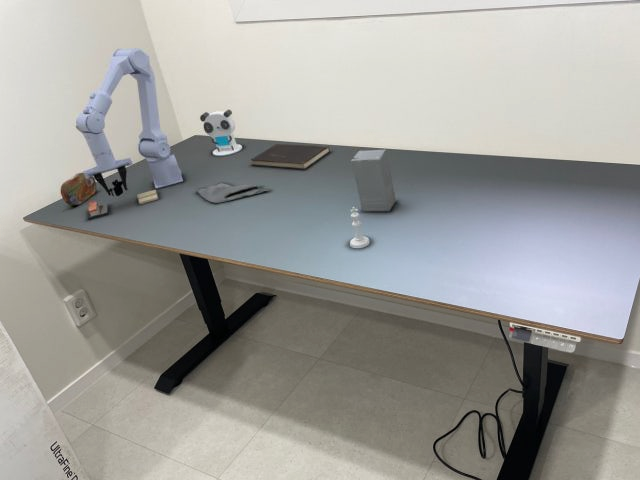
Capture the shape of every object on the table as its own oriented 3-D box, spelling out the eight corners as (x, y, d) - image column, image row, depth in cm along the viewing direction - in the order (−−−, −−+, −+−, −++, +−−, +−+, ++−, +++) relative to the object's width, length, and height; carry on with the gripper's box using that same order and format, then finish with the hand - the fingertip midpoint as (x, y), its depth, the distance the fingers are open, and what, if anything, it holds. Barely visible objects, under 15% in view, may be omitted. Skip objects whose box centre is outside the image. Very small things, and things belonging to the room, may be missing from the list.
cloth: (184, 199, 183) (181, 193, 182) (213, 182, 192) (211, 176, 191) (244, 207, 170) (242, 201, 169) (272, 188, 180) (271, 182, 179)
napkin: (156, 193, 191) (155, 189, 191) (158, 199, 186) (157, 195, 186) (138, 198, 190) (137, 194, 189) (139, 204, 185) (138, 200, 184)
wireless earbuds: (124, 190, 188) (118, 176, 185) (130, 190, 187) (125, 175, 185) (111, 199, 182) (105, 185, 180) (118, 199, 182) (112, 184, 179)
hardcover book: (304, 169, 190) (303, 163, 189) (252, 165, 201) (250, 159, 200) (330, 152, 201) (328, 145, 200) (279, 149, 212) (277, 143, 211)
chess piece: (349, 240, 144) (342, 204, 138) (368, 237, 144) (362, 201, 138) (350, 249, 139) (343, 213, 134) (370, 246, 139) (364, 210, 134)
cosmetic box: (396, 201, 159) (389, 147, 150) (388, 213, 153) (380, 158, 145) (368, 201, 162) (359, 148, 153) (359, 212, 156) (350, 158, 148)
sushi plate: (108, 205, 188) (104, 198, 186) (108, 214, 181) (104, 206, 180) (89, 211, 186) (85, 203, 185) (88, 220, 180) (85, 212, 178)
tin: (73, 209, 190) (63, 186, 185) (66, 209, 191) (55, 186, 186) (100, 190, 202) (90, 167, 198) (92, 190, 203) (83, 168, 198)
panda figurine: (206, 157, 216) (194, 118, 208) (218, 146, 226) (207, 108, 218) (235, 154, 214) (224, 115, 206) (246, 143, 223) (235, 105, 215)
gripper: (123, 142, 182) (138, 181, 189) (76, 155, 177) (93, 195, 184) (126, 147, 176) (142, 187, 184) (78, 161, 171) (96, 202, 178)
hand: (118, 192), depth 183 cm, fingers closed on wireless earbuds, 4 cm apart
